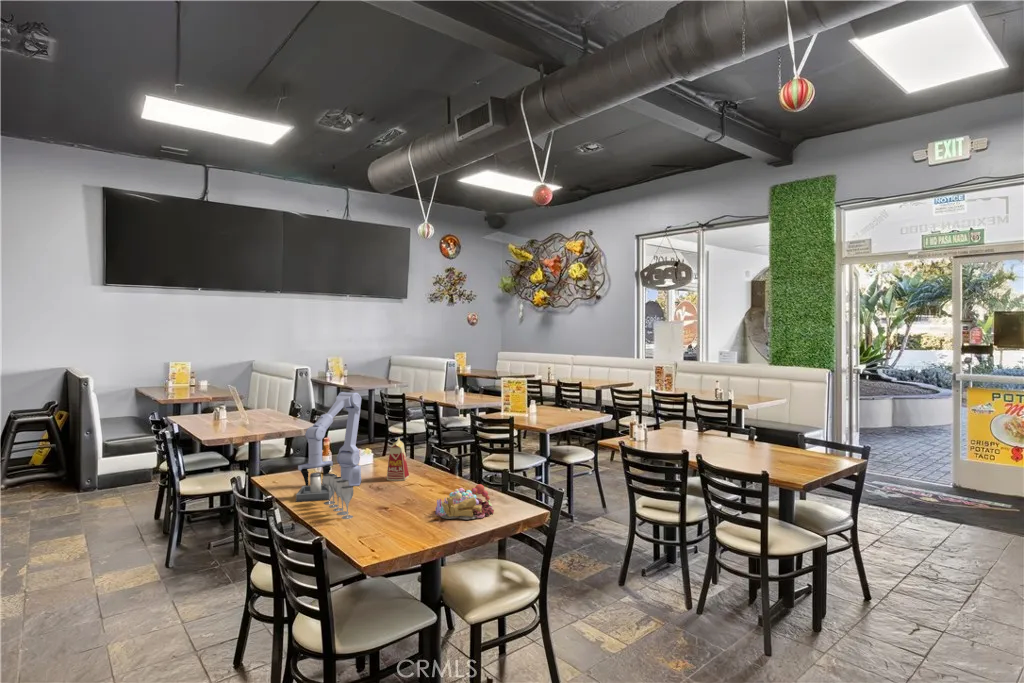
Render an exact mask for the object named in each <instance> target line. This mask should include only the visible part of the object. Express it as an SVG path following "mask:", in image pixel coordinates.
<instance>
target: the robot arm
mask: <svg viewBox="0 0 1024 683" xmlns="http://www.w3.org/2000/svg"><path fill="white" fill-rule="evenodd" d="M361 405H362V397H361V395H360V394H359V392H345V391H341V392H339V393H338V395H337V396H335V402H334V403H333V404H332V406H331V407H330V408H329V410H328V411H327V413H323V414H320V417H319V418H318V419H317V421H315V422H314V424H313V425H312V426H309V427H308V428H307V429H306V431H305V435H304V436H305V438H306V440H307V443H308V462H307V463H303V464H298V465H297V470H298V471H300V473H301V474H302V477H303V479H304V483H305V485H304V486H309V474H310V472H309V471H308V470H310V469H317V468H322V475H325V474H330V471H331V470H332V467H333V464H334V463H333V460H328V461H327V460H326V461H324V460H323V439H324V438H325V437H326V432H327V430H328V429H329V428H330V426H331V425H332V424H333V422H334V418H335V417H336V416H337V414H338V413H340V411H342V409H345V410H346V411H347V412H348V413H347V420H346V427H345V435H344V440H343V441H344V443H343V445H342V446H341V447H340V448H339V451H338V453H337V455H336V462H337V464H339V467H340V477H342V480H348V481H349V486H353V487H358V486H361V483H362V466H361V464H360V465H358V464H359V463H360V461H361V460H360V459H361V456H360V452H361V451H360V449H359V448H358V447H357V446H356V444H357V438H358V437H357V436H358V430H359V423H360V422H359V421H360V414H361Z"/></svg>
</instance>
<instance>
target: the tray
mask: <svg viewBox="0 0 1024 683" xmlns="http://www.w3.org/2000/svg"><path fill="white" fill-rule="evenodd" d="M332 498H333V492H332V490H331V491H330V500H331V499H332ZM316 501H318V502H319V501H320V502H321V501H329V492H328V489H327V488H326V487H325V486H324V485H323V484H321V493H310V485H308V486H306V485H302V486H301V487H300V489H299V490H298V491H297V493H296V494H295V503H296V502H297V503H298V502H316Z"/></svg>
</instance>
